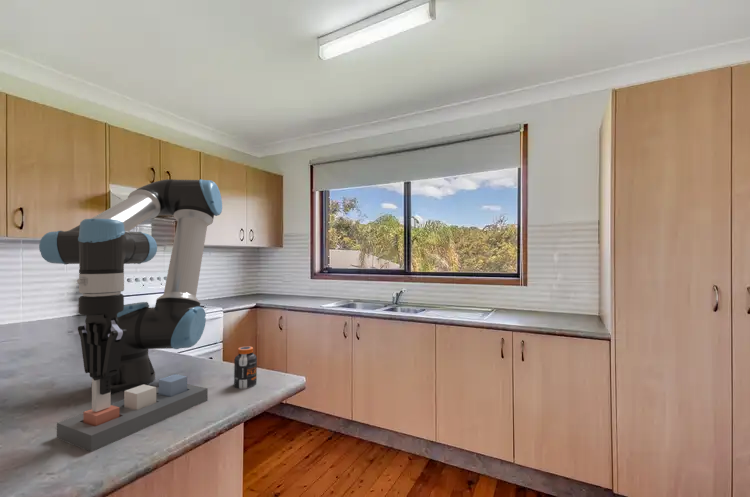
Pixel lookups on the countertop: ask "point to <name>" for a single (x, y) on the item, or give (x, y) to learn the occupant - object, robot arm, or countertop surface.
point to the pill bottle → (245, 368)
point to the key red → (100, 416)
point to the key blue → (172, 385)
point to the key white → (139, 397)
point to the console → (128, 419)
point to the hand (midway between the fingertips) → (101, 408)
